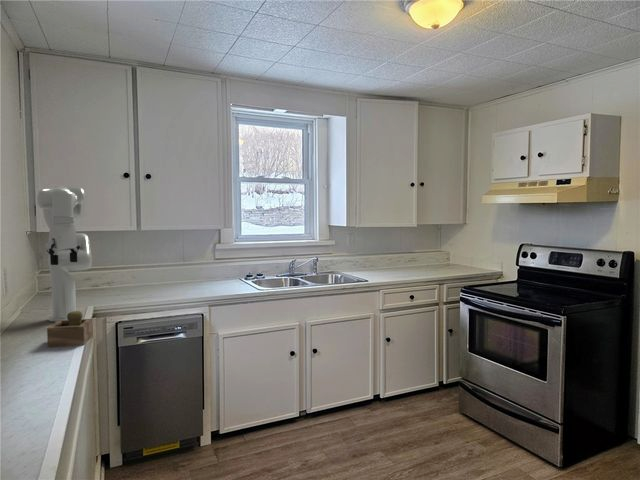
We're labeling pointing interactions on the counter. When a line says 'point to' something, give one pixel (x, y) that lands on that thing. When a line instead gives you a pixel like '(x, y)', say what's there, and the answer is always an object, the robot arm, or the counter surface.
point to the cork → (75, 318)
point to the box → (69, 333)
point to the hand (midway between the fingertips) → (64, 263)
